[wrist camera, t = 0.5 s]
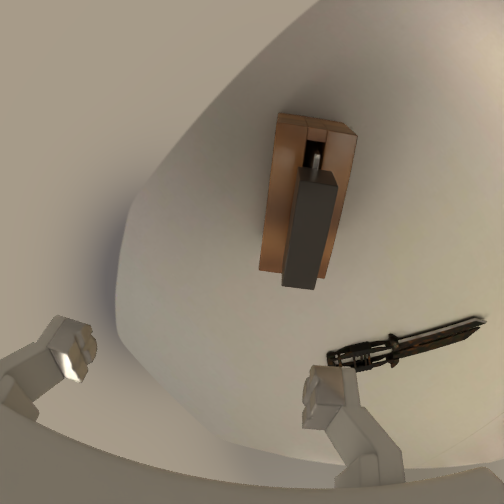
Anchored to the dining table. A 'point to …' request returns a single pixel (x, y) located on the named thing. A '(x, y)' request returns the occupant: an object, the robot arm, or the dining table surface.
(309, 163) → the metal bench scraper
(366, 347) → the knife
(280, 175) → the knife block
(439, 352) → the dining table surface
